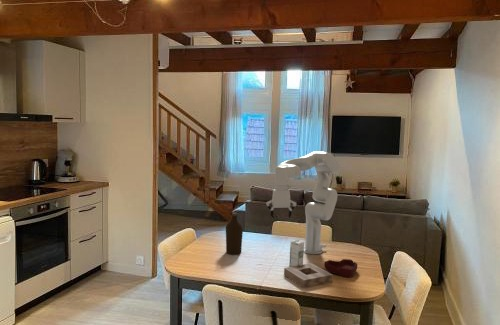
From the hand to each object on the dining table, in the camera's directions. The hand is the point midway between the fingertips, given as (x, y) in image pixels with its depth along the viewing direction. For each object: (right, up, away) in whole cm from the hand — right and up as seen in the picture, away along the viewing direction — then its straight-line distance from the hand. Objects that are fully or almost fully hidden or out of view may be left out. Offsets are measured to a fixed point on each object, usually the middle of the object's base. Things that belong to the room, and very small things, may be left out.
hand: (280, 217), depth 222 cm
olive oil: (-28, -25, +21) cm, 43 cm away
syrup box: (+9, -28, +1) cm, 29 cm away
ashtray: (+34, -30, -8) cm, 46 cm away
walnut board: (+13, -30, -17) cm, 37 cm away
